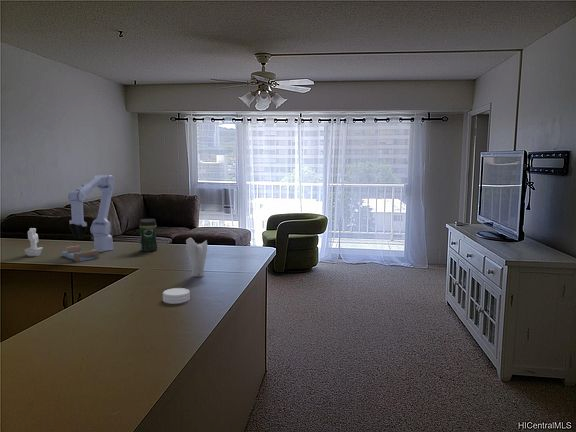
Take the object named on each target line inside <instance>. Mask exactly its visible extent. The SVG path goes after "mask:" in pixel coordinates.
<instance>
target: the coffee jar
mask: <svg viewBox="0 0 576 432" xmlns="http://www.w3.org/2000/svg"><path fill="white" fill-rule="evenodd" d="M138 228H139V230H140V243H139V244H140V245H139V246H140V248H139V249H140V251H141V252H153V251H157V250H158V242H157V241H158V240H157V237H156V236H157V232H156V230H157V229H156V228H157V222H156V219H155V218H142V219H140V220H139V225H138Z"/></svg>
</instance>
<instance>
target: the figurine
mask: <svg viewBox="0 0 576 432" xmlns="http://www.w3.org/2000/svg"><path fill="white" fill-rule="evenodd" d="M36 232H37V228H35V227H33V228H32V227H30V228H29V230H28V231H27V239H28V241H30V247H28V248H26V249H24V250H23V251H24V252H25V254H26V255H27V256H28V257H38V256H39V255H41V253H42V251H43V249H44V247H41V246H39V247H38V245H37V244H38V243H39V234H38V233H36Z"/></svg>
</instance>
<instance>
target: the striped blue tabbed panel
mask: <svg viewBox="0 0 576 432" xmlns="http://www.w3.org/2000/svg"><path fill="white" fill-rule="evenodd" d="M66 258H67V259H70V260H74V262H77V263H79V262H83V261H84V262H85V261H89V260H94V259H95V260H96V259H99V258H100V252H99V251H98V250H92V249H91V250H88V251H87V250H86V251H85V250H83V251H79V252H72V253H67V257H66Z"/></svg>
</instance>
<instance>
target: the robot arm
mask: <svg viewBox="0 0 576 432" xmlns="http://www.w3.org/2000/svg"><path fill="white" fill-rule="evenodd" d="M115 183H116V181H115V178H114V175H112V174H96V175H95V176H93V178H92V179H91V181H89V182H88V183H82V184H81V186H78V187H77V188H76V189H75V190H71V191H70V192H69V193H68V196H67V199H68V201H69V205H70V209H71V212H70V213H71V219H70V220H69V225H68V228H69V229H70V231H71V234H72V238H73V239H77V238H78V239H79V240H84V239H85V235H86V231H87V229H88V227H89V226H88V223H87V222H86V221H85V220H84V217H85V216H84V201H85V199H86V198H87V196H88V195H90V194H91V193H92V192H93V189H94V188H96V187H97V189H99V190H100V191H101V198H100V202H99V207H98V213H97V216H96V218H95V219H94V220H93V221H92V223H91V226H90V230H89V231H90V234H91V235H92V236H93V241H94V242H93V244H94V248H93V249H91V251H92V250H98V251H99V253H102V252H108V251H109V252H110V251H113V250H114V244H113V236H112V235H111V234H110V233H111V231H112V230H111V229H112V228H111V224H112V223H111V222H110V221H109V220H108V217H109V216H108V215H109V211H110V206H111V200H112V196H113V195H112V194H113V191H114V187H115ZM114 251H115V250H114Z"/></svg>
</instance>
